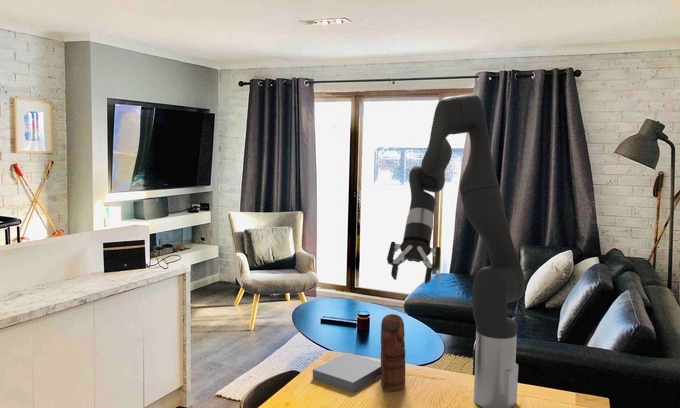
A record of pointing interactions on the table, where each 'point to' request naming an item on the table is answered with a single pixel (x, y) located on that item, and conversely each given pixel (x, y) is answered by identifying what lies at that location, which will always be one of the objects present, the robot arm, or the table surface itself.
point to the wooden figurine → (392, 353)
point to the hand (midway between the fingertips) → (410, 280)
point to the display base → (348, 372)
